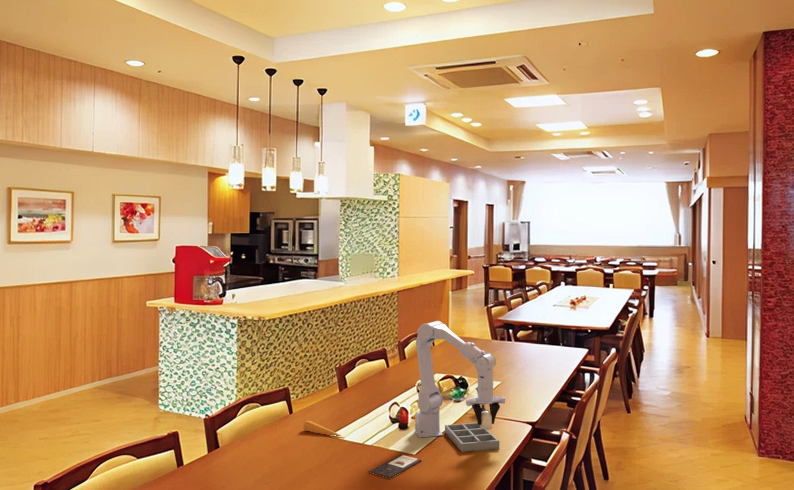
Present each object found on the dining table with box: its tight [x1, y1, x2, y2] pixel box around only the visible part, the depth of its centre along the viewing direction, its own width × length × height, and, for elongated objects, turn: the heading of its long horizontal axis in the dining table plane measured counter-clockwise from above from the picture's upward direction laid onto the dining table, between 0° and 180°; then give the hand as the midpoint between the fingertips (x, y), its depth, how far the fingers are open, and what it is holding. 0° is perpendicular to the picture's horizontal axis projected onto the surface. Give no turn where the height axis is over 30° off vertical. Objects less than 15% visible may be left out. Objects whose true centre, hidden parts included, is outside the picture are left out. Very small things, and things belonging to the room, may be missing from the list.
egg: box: [480, 410, 493, 431], centre depth 216 cm, size 4×4×6 cm
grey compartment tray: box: [444, 422, 500, 453], centre depth 222 cm, size 14×21×3 cm
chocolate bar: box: [368, 453, 422, 479], centre depth 198 cm, size 9×1×18 cm
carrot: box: [302, 420, 342, 436], centre depth 231 cm, size 20×4×4 cm, turn 61°
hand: (485, 423), depth 216 cm, fingers closed on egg, 4 cm apart
